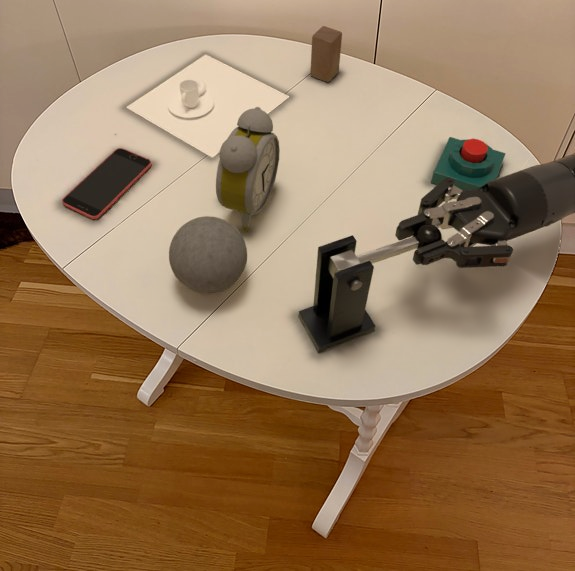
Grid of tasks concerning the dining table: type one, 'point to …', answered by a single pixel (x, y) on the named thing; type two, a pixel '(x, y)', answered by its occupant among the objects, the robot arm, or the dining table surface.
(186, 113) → the teacup and saucer
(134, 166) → the smartphone
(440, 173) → the button block
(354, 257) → the lever
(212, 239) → the decorative ball
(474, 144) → the button
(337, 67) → the wooden block
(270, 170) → the alarm clock
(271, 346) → the dining table surface
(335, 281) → the bracket
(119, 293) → the dining table surface
